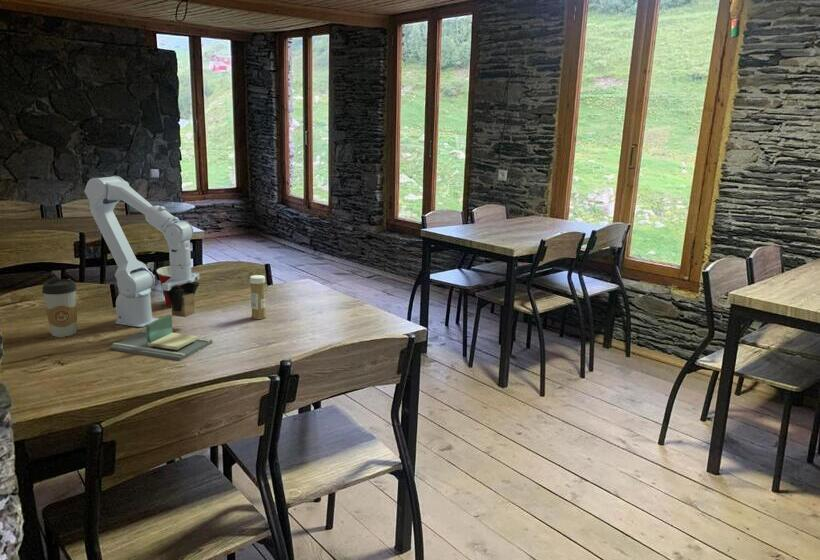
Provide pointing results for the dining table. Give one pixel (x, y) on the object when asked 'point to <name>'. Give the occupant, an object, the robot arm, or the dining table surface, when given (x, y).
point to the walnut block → (185, 306)
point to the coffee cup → (61, 306)
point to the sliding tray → (166, 335)
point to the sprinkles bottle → (258, 296)
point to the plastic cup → (164, 276)
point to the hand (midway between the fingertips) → (182, 308)
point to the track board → (141, 347)
